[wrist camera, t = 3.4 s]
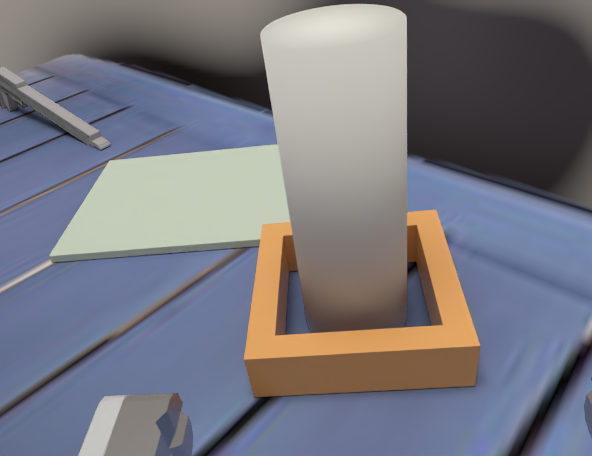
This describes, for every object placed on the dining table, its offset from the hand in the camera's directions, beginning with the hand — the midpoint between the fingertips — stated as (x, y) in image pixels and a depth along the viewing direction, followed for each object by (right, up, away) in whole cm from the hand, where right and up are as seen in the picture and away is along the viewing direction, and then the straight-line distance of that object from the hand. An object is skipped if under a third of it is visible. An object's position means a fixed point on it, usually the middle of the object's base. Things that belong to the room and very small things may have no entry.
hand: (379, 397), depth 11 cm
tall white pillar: (+1, -1, +16) cm, 16 cm away
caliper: (-26, +13, +41) cm, 50 cm away
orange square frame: (+1, -1, +16) cm, 16 cm away
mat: (-9, +5, +27) cm, 29 cm away
